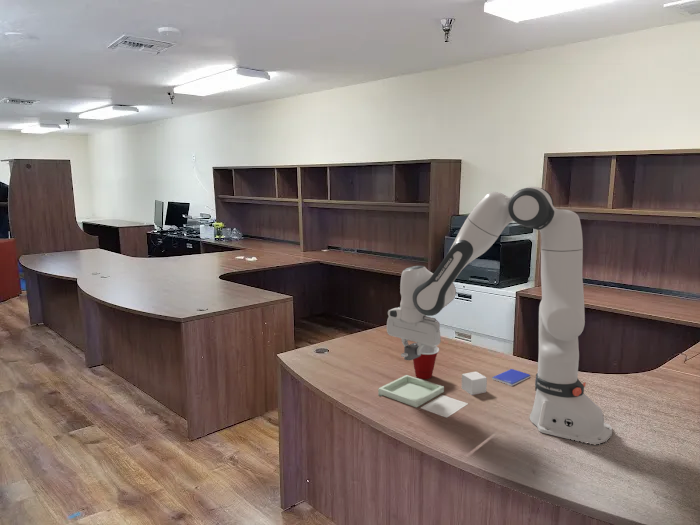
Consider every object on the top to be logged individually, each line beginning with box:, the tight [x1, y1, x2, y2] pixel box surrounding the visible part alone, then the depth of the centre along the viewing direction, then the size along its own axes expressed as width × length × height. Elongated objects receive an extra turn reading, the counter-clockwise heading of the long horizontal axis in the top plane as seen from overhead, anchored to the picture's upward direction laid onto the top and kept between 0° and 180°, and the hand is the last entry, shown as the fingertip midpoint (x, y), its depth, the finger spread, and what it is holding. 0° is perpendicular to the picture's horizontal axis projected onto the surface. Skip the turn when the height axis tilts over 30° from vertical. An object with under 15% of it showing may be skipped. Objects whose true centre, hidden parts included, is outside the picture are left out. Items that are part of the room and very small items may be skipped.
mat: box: [420, 394, 469, 418], centre depth 161 cm, size 10×13×1 cm
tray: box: [377, 374, 445, 409], centre depth 171 cm, size 16×16×2 cm
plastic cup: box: [412, 344, 440, 380], centre depth 184 cm, size 11×11×12 cm
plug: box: [400, 342, 421, 361], centre depth 169 cm, size 9×3×4 cm, turn 137°
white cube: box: [461, 371, 488, 396], centre depth 172 cm, size 6×6×6 cm
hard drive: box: [491, 368, 531, 387], centre depth 184 cm, size 2×8×12 cm
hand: (412, 352), depth 169 cm, fingers closed on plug, 3 cm apart
